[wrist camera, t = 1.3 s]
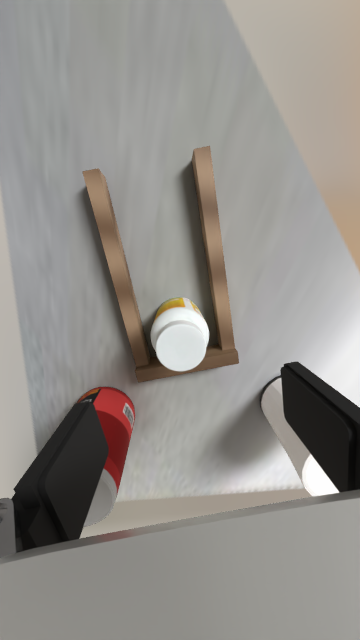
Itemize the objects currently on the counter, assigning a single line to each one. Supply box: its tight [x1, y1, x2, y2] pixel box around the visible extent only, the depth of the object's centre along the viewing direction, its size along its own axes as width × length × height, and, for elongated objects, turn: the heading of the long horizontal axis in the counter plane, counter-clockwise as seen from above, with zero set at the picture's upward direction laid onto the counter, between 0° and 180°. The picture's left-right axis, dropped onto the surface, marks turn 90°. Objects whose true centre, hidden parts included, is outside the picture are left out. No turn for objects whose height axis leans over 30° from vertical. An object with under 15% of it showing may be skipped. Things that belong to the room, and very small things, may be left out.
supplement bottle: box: [151, 297, 209, 371], centre depth 20 cm, size 5×5×10 cm
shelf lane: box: [83, 146, 239, 382], centre depth 22 cm, size 22×12×3 cm, turn 11°
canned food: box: [77, 387, 135, 527], centre depth 23 cm, size 8×8×11 cm
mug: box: [260, 376, 340, 496], centre depth 24 cm, size 11×9×10 cm
